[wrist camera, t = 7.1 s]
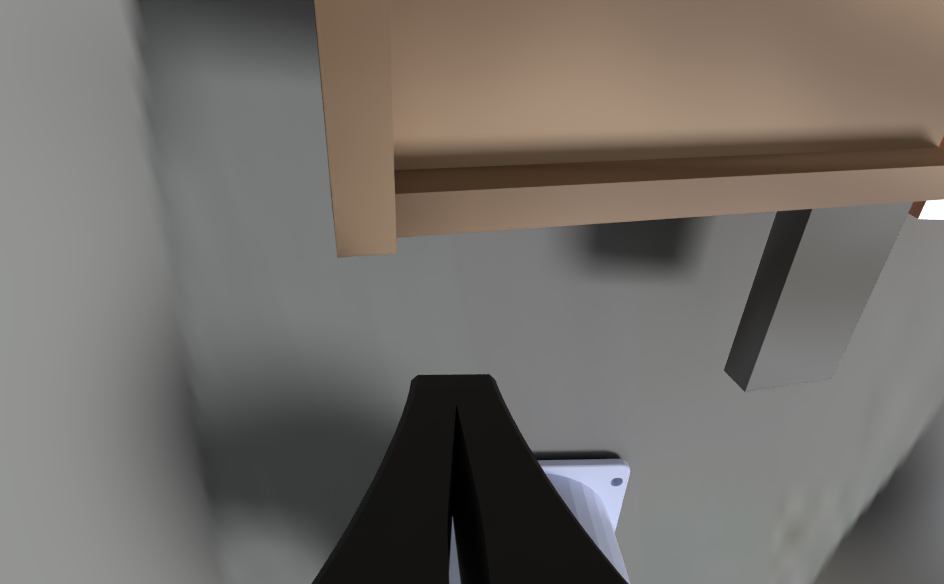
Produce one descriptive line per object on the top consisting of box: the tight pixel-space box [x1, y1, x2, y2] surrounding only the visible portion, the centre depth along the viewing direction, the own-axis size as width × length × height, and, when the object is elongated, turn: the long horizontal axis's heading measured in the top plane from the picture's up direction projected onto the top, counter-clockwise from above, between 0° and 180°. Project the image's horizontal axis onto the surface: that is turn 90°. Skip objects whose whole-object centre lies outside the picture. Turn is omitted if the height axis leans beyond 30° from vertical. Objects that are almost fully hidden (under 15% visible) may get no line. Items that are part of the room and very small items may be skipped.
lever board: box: [314, 0, 944, 392], centre depth 12 cm, size 13×14×2 cm
